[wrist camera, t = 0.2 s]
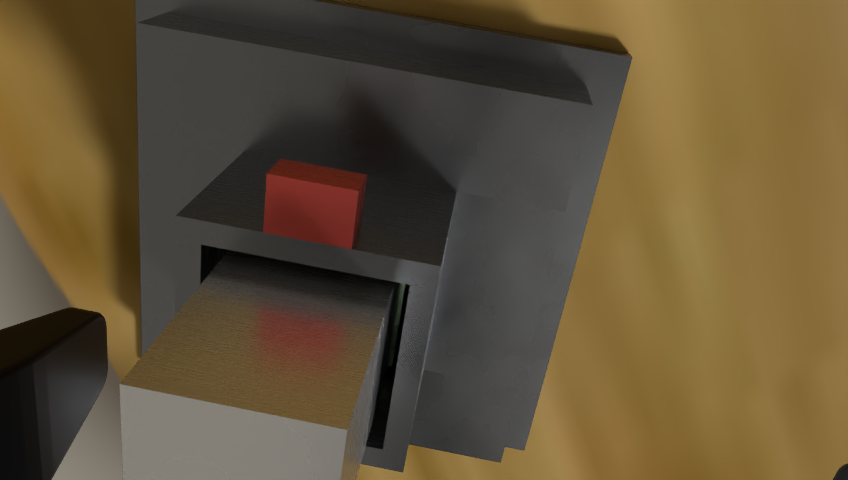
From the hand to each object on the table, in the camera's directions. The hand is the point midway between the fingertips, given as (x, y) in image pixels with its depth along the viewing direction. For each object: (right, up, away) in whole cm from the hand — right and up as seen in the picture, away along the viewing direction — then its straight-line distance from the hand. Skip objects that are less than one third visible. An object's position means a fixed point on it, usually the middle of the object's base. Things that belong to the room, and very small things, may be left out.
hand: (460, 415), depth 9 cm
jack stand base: (-3, +2, +15) cm, 15 cm away
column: (-3, +2, +15) cm, 15 cm away
